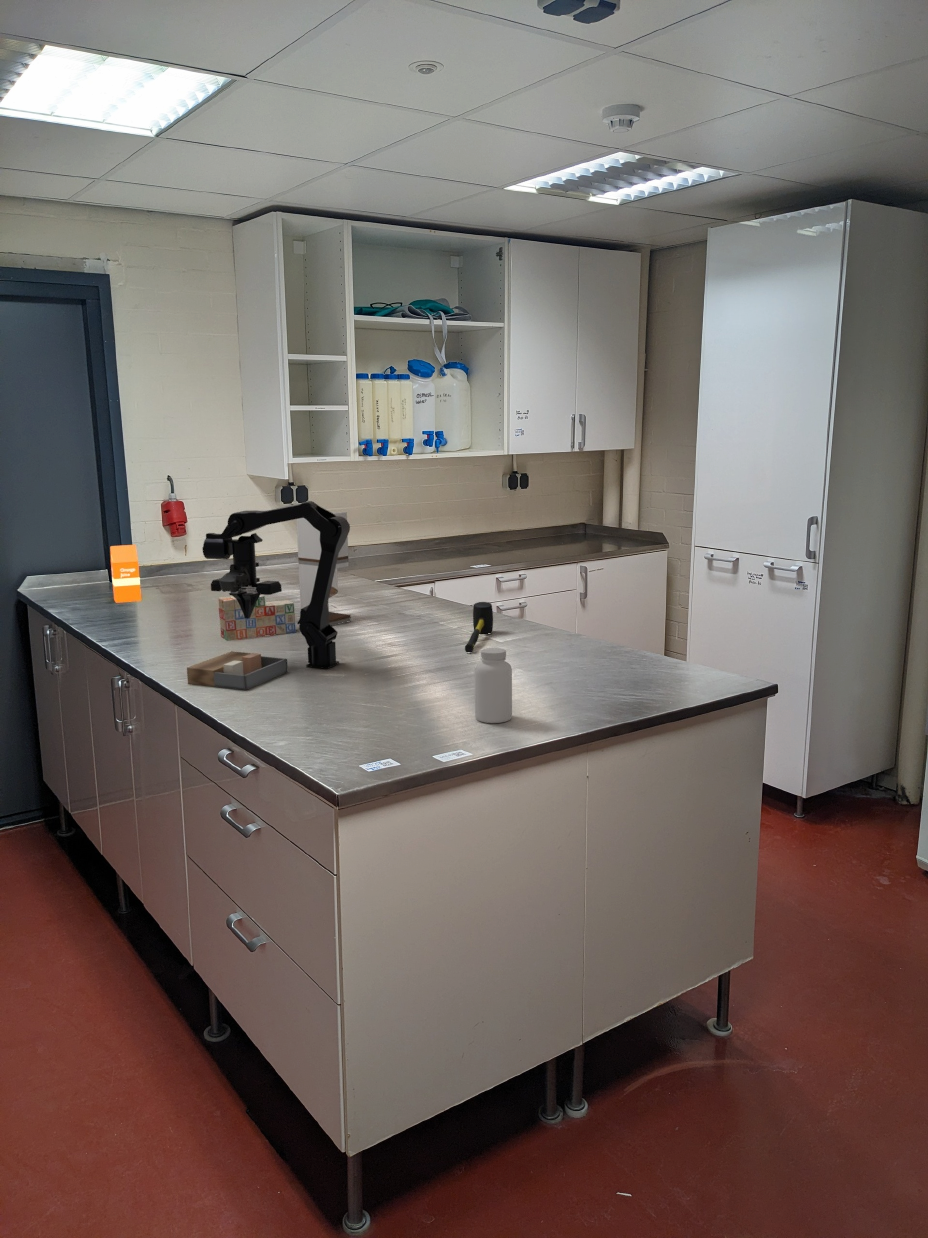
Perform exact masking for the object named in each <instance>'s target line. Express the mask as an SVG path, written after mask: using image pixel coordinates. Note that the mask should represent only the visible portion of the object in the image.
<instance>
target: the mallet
mask: <svg viewBox="0 0 928 1238" xmlns="http://www.w3.org/2000/svg"><path fill="white" fill-rule="evenodd" d="M472 608H473V609H472V623H473V625H472V626H473V632H471V634H470V638H469V640H468V642H467V643H466V644H465V646H464V651H465V653H466V652H472V653H473V651H474V648H475V646H476V644H477V642H478V640H479V638H480V635H479V634H488V633H491V634H492V633H493V627H494V615H493V614H494V612H493V605H492V603H491V602H488V601H478V602H475V603H474V604H473V606H472ZM488 635H489V634H488Z"/></svg>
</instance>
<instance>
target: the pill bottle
mask: <svg viewBox="0 0 928 1238" xmlns="http://www.w3.org/2000/svg"><path fill="white" fill-rule="evenodd" d="M505 660H507V651H506V649H504V648H502V647H486V648H483V649H481V651H480V661H479V662H477V663H476V665H475V667H474V716H475V720H477V721H478V722H481V723H487V724H500V723H505V722H509V721H510V720H511V719H512V716H513V668H512V666H511V664H510V663H509V662H508V661H505Z"/></svg>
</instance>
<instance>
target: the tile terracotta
mask: <svg viewBox="0 0 928 1238" xmlns="http://www.w3.org/2000/svg"><path fill="white" fill-rule="evenodd" d="M250 653H251V654H249V655H246V656H243V657H242V661H243V673H244V675H246V674H249V673H251V672H253V671H256V670H258V669H261V668H262V666H261V656H262V653H256V652H250Z"/></svg>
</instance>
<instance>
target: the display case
mask: <svg viewBox="0 0 928 1238" xmlns="http://www.w3.org/2000/svg"><path fill="white" fill-rule="evenodd" d="M332 513H333V514H334V515H336V516H341V517H343V518H345V519H346V520H347V521H348V512H347V511H340V512H332ZM296 535H297V557H298V558H297V560H298V576H299V577H298V578H299V581H298V583H299V603H300V605H299V606H300V610H301V609H302V608H304V607H306V606H308V605H309V604H310V602H311V597H312V592H313V588H314V583H315V578H316V574H317V569H318V564H319V560H320V555H321V545H320V531H318V530H317V529H315V528H314V527H313V526H312V525H311V524H310V523H309V522H308V521H307V520H306V519H305V518H299V519H296ZM348 536H349V535H348ZM348 536H347V538H346V541H345V543H344V545H343V546H342V548H341V550H340V552H339V554H338V558H337V563H336V568H335V572H334V577H333V581H332V586H331V590H330V595H329V598H332V597H333V596H335V595H337V594H338V593H339V583H338V582H339V581H338V580H339V579H338V569H342V568H347V567H349V565H350V564H349V563H350V562H349V541H348V540H349V537H348ZM329 608H330V606H329V603H328V611H329V624H330V625H333V626H336V625H335V624H337V625H339V624H338V623H342V622H346V623H348V622H347V621H350V622H351V621H352V620H351V615H350V614H346V613H342V612H341V613H340V612H335V611H334V612H333V611H330V610H329ZM342 624H343V623H342Z"/></svg>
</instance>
